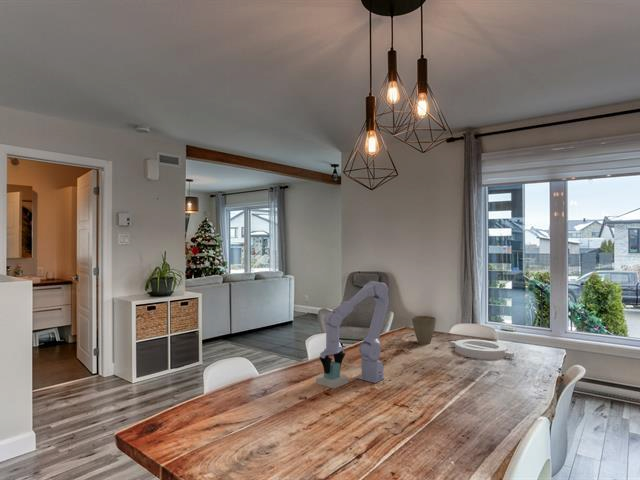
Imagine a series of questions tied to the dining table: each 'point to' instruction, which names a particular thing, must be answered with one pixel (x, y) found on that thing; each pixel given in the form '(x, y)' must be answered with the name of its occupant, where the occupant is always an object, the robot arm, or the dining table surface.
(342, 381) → the plinth
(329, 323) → the robot arm
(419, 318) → the plant pot
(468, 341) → the white circle with bar
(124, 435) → the dining table surface
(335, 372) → the teal block
